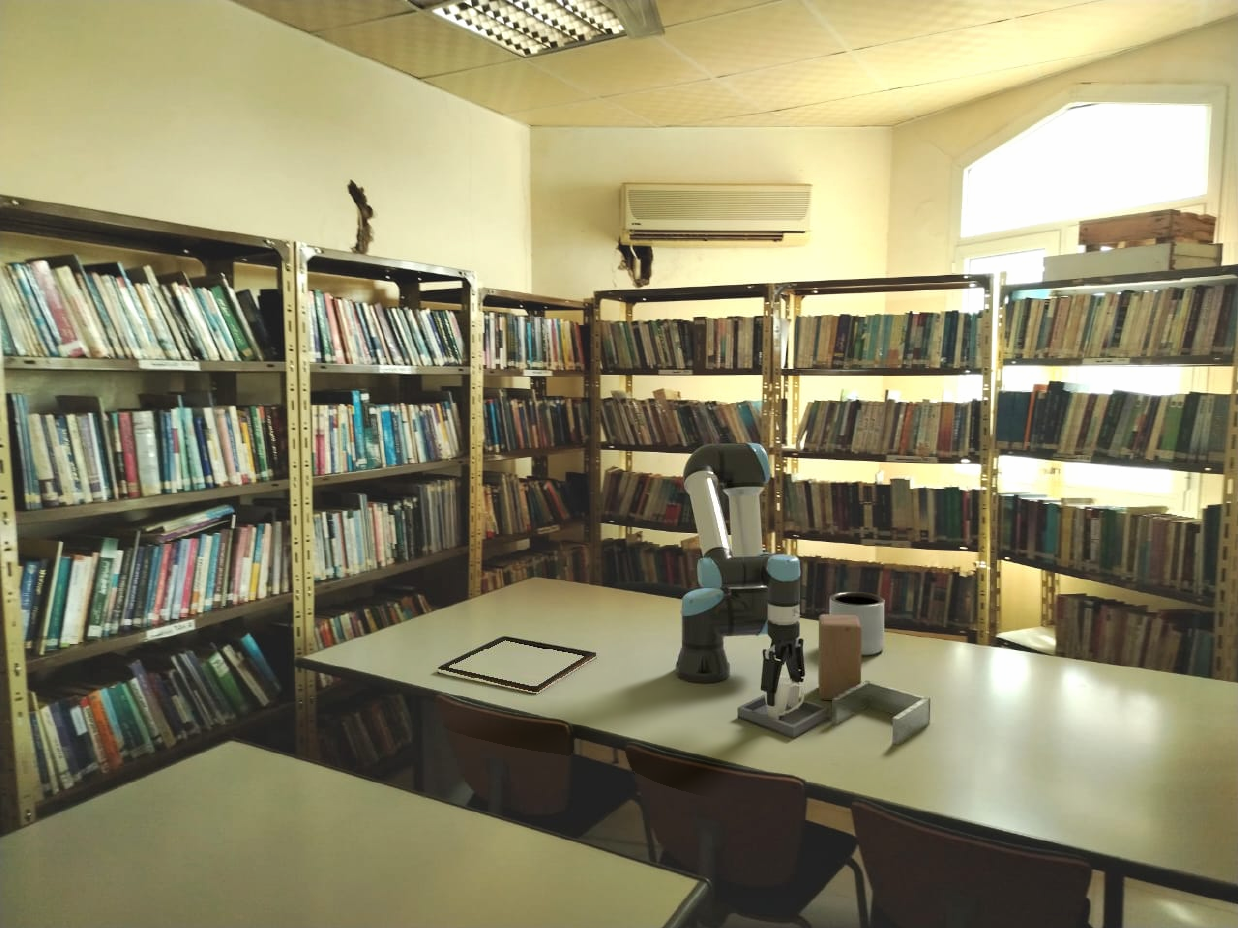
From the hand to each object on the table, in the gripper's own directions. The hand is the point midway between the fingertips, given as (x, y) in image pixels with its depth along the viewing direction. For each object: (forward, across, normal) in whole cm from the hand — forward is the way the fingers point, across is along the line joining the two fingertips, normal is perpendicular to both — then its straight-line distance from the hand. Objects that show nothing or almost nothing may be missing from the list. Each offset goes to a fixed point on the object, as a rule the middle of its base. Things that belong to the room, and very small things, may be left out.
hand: (783, 712), depth 187 cm
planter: (+2, +57, +13) cm, 58 cm away
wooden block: (+2, +22, -2) cm, 22 cm away
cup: (0, 0, 0) cm, 0 cm away
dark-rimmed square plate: (+2, -23, +76) cm, 79 cm away
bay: (+1, +14, -18) cm, 23 cm away
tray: (+1, 0, 0) cm, 1 cm away
